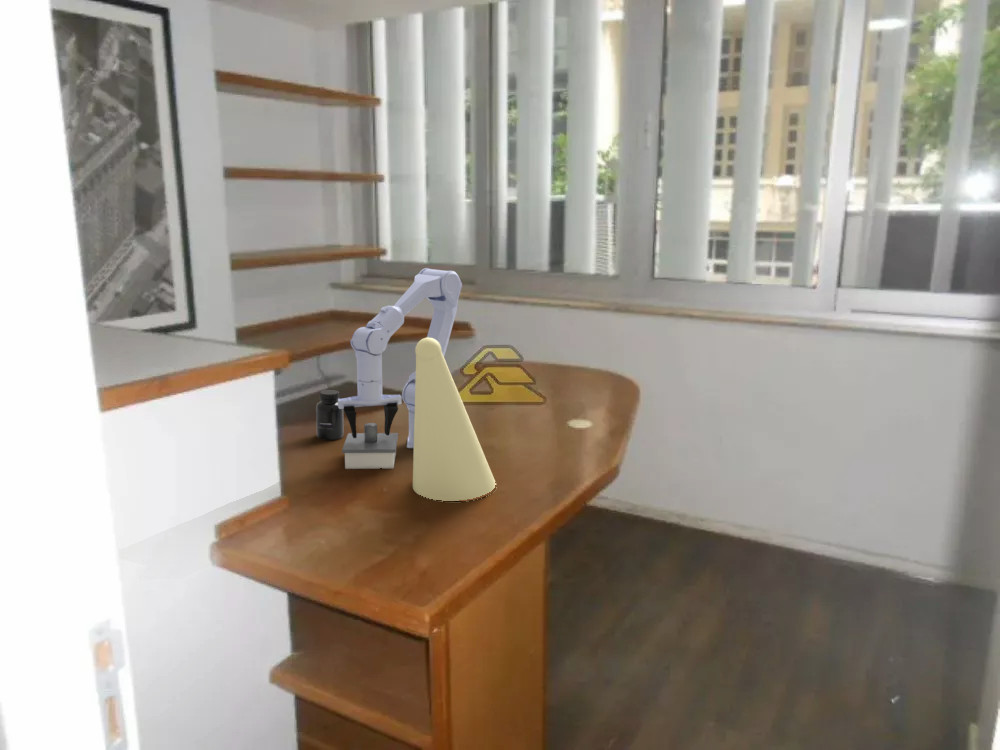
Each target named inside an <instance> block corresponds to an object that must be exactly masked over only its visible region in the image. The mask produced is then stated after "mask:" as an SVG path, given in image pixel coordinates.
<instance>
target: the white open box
mask: <svg viewBox="0 0 1000 750" xmlns="http://www.w3.org/2000/svg"><path fill="white" fill-rule="evenodd" d="M396 455H397V451H396V452H395V453H344V469H345V470H351V469H352V470H361V469H362V470H365V469H366V470H369V469H371V470H372V469H374V470H375V469H380V468H382V469H394V468H395V463H396V462H395V461H396Z"/></svg>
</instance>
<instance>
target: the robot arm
mask: <svg viewBox="0 0 1000 750" xmlns="http://www.w3.org/2000/svg"><path fill="white" fill-rule="evenodd" d="M462 288H463V283H462V281H461V279H460V276H459V274H458V273H457V272H456V271H454V270H443V269H442V270H441V269H434V268H433V269H432V268H428V267H425V268H422V269H421V270H420V271H419V272H418V273H417V274H416V275H415V276H414V280H413V283H412V284H411V285H410V286H409V287H408V289H407V290H406V291H405V292H404V293H403V294H402V295H401V297H400V298H398V300H397V301H396V303H394V305H386V306H382V307H380V310H379V311H380V312H378V314H376V315H375V316H374V317H373V318H372V319H371V320H369V321H368V322H367V324H365V326H360V327H359V328H357V329H356V330H355V331H354V333H353V334H352V338H351V339H350V341H349V342H350V346H351V348H352V349H353V351H354V356H355V359H356V385H357V387H356V388H357V395H355V396H349V397H344V398H339V399H338V407H339V409H343V413H344V414H345V416H346V418H347V420H348V423H349V427H350V429H351V433H352V436H353V438H357V433H358V432H357V411H356V408H360V407H362V408H363V407H375V406H383V410H384V428H383V429H384V433H385V434H386V435H389V433H391V432H390V431H391V427H392V423H393V422H394V418H395V416H396V415H397V414H398V410H399V407H398V405H399V406H401V405H402V402H404V404H405V405H406V409H407V410H408V436H407V442H406V448H407V449H414V419H415V381H416V370H415V371H414V372H412V373H411V374H409V376H408V379H407V381H406V383H405V384H404V386H403V388H402V392H401V394H383V355H382V354H383V352H385V351H386V349H387V348H388V347H387V346H388V342H389V341H390V339H391V337H392V336H393V335H394V334H395V333H396V332H397V331H398V330H399V329H400V328H401V326H403V325H404V323H405V316H406V315H407V314H409V313H410V311H412V310H413V309H414V308H415V307H417V306H418V305H419V304H420V303H421V302H422V301H423V300H425V299H427V300H428V302H429V303H430V304H431V305H432V307H433V314H432V318H431V321H430V323H429V324H430V325H429V328H428V332H427V336H426V338H428V337H429V338H433V339H435V340H437V341H438V342H439V344H440V346H441V350H442V354H443V356H444V357H445V355H446V353H447V348H448V345H449V341H450V337H451V333H452V329H453V327H454V323H455V322H454V321H455V319H456V315H457V311H458V308H459V307H458V306H459V305H458V304H459V303H458V302H459V298H460V294H461V291H462Z"/></svg>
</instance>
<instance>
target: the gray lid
mask: <svg viewBox="0 0 1000 750" xmlns="http://www.w3.org/2000/svg"><path fill="white" fill-rule="evenodd" d="M363 427H364V428H363V430H364V432H361V433H360V432H356V433H357V438H353V436H352V432H349V433H347V435H346V438H345V441H344V444H343V446H342V449H341V453H342V454H345V453H395V452H396V453H397V445H398V439H399V433H398V432H390V433H389V435H386V434H385V432H378V424H377V423H375V422H369V423H368V422H367V423H364V424H363Z"/></svg>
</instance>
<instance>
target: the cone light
mask: <svg viewBox="0 0 1000 750" xmlns="http://www.w3.org/2000/svg"><path fill="white" fill-rule="evenodd" d="M414 349H415V350H414V353H415V371H416V381H415V419H414V448H413V457H412V458H413V459H412V460H413V461H412V462H413V464H412V489H413V491H414V492H415V493H416V494H417V495H419V496H420V495H421V496H420V497H422V496H423V498H425V497H426V499H428V498H429V499H428V500H431V499H433V500H432V501H436V500H442V501H441V502H443V501H459V500H467V499H473V498H476V497H480V496H482V495H485V494H487V493H489V492H491V491H492V490H493V489H494V488H495V485H497V482H496V480H495V478H494V475H493V472H492V470H491V468H490V466H489V465H490V464H489V463H488V460H487V459H486V455H485V453H484V451H483V448H482V446H481V443H480V442H479V439H478V436H477V434H476V431H475V429H474V426H473V424H472V422H471V419H470V417H469V414H468V412H467V410H466V407H465V405H464V402H463V400H462V398H461V394H460V392H459V390H458V387H457V386H456V383H455V381H454V379H453V376H452V373H451V371H450V369H449V366H448V364H447V361H446V359H445V356H443V354H442V350H441V346H440V344H439V342H438V341H437V340H435V339H433V338H429V337H428V338H427V337H424V338H421V339H420V340H419V341H418V342H417V343H416V346H415V348H414ZM495 482H496V483H495Z"/></svg>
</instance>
